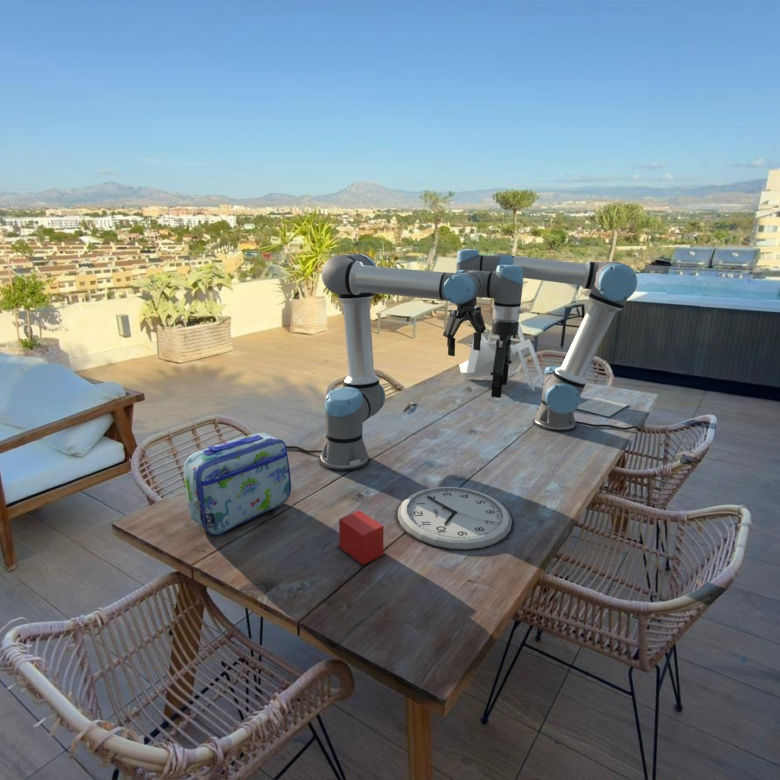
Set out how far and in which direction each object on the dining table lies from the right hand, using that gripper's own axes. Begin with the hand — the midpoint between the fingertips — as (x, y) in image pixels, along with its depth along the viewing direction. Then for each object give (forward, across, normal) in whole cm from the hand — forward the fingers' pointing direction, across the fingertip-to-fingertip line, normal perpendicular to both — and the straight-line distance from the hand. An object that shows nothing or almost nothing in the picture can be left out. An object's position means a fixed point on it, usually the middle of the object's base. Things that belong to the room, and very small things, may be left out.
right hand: (464, 352), depth 192 cm
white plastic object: (+29, +55, +28) cm, 69 cm away
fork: (+29, -1, +30) cm, 41 cm away
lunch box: (+28, -93, -9) cm, 98 cm away
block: (+29, -78, -41) cm, 93 cm away
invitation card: (+31, +66, -20) cm, 76 cm away
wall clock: (+29, -50, -44) cm, 72 cm away
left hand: (+3, -20, -33) cm, 38 cm away
